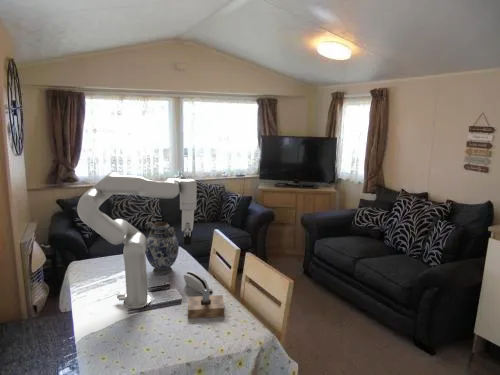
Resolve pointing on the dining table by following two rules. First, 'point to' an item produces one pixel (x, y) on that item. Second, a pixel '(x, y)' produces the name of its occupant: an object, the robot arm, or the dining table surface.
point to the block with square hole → (205, 307)
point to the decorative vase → (161, 247)
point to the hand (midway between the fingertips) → (188, 241)
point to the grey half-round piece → (196, 281)
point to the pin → (205, 296)
